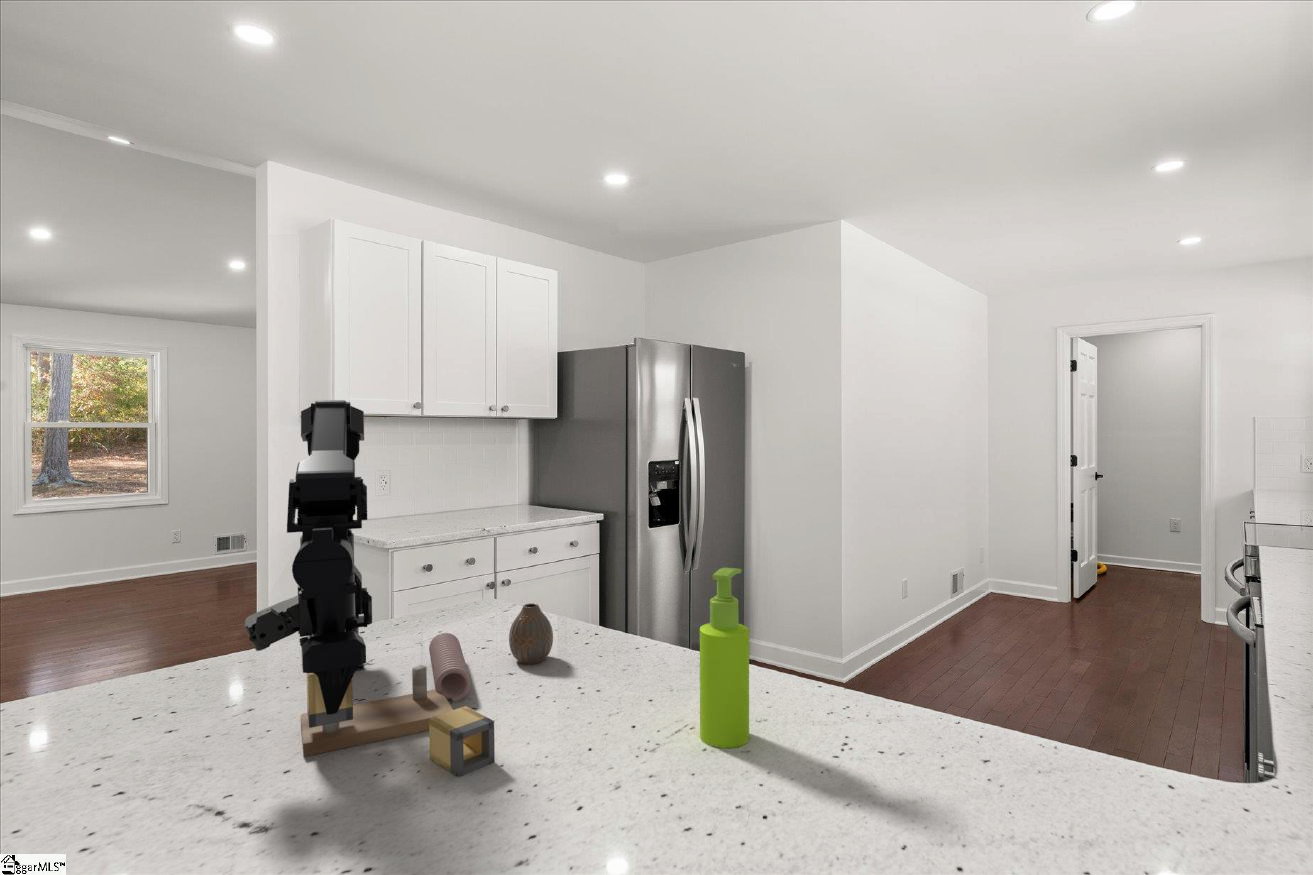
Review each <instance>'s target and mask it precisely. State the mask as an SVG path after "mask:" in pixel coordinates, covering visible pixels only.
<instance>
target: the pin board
mask: <svg viewBox="0 0 1313 875" xmlns="http://www.w3.org/2000/svg"><path fill="white" fill-rule="evenodd" d="M427 669H428V668H427V666H426V665H416V666H414V667H412V668H411V671H412V672H411V680H412V681H411V682H412V685H411V686H412V693H409V694H404V695H398V696H393V697H387V698H384V699H377V700H372V701H367V702H362V703H361V702H360V703H357V704H353V720H347V721H342V722H337V723H332V724H327V725H322V726H317V727H312V728H309V722H308V713H307V712H306V713H303V714H302V713H301V714H300V732H301V743H302V756H303V758H304V757H309V756H313V755H318V754H323V753H328V752H332V751H333V752H334V751H338V750H341V749H343V750H344V749H346V748H347V749H348V748H351V747H356V746H360V745H361V746H362V745H365V744H371V743H374V742H379V741H385V740H389V739H393V738H399V737H403V736H408V735H413V734H416V733H423V732H426V731H429V718H432V717H435V716H438V715H440V714H443V713H446V712H449V711H452V710H454V709H453V707H452V706H451V704H450V702H449V700H447V699H446V698H445V696H444V694H443V693H442V691H436V690H435V689H430V690H428V681H427V680H428V679H427V678H428V677H427V676H428V674H427V673H428V672H427V671H428V670H427Z"/></svg>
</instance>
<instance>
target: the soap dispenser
mask: <svg viewBox="0 0 1313 875" xmlns="http://www.w3.org/2000/svg"><path fill="white" fill-rule="evenodd" d="M741 573H742V568H734V567H721V568H719V569H718V570H717V571H715V572H714V573H713V574H712V580H716V581H717V582H716V595H714V596H713V597H711V598H710V600H709V622H707V623H705V624H703V625H701V626H700V627H699V736H700V739H701V741H702V742H704V743H705V744H707V745H708V746H711V747H715V748H721V749H732V748H733V749H734V748H738V747H742V746H743V745H745V744H747V743H748V741H750V629H749V628H748V627H747V626H746V625H744V624H741V623H739V600H738V598H737V597H735V596H734V595H732V578H733V577H735V576H736V575H737V574H741Z"/></svg>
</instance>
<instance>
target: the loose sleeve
mask: <svg viewBox="0 0 1313 875" xmlns="http://www.w3.org/2000/svg"><path fill="white" fill-rule="evenodd" d="M353 686H354V685H353V678H352V679H351V682H350V684H349V686H348V689H347V691H346V693H345V696H344V698H343V700H342V703H341V705H340V707H339V710H338V712H337V713H335V714H330V715H328V714H327V713H326V709H325V704H324V700H323V696H322V692H321V688H320V684H319V680H318V676H317V675H316V674H314V673H306V696H307V697H306V705H307V706H306V708H307V712H306V713H308V722H309V728H312V727H317V726H322V725H327V724H332V723H337V722H342V721H347V720H353V705H354V700H353V699H354V695H353V694H354V693H353V690H354V689H353Z"/></svg>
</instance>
